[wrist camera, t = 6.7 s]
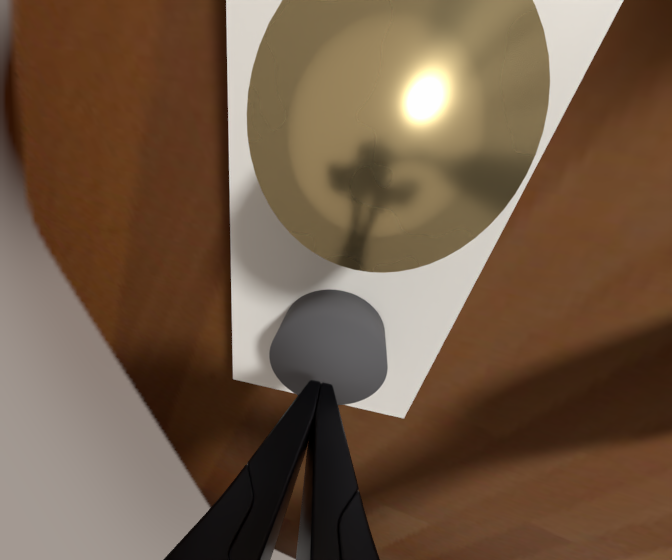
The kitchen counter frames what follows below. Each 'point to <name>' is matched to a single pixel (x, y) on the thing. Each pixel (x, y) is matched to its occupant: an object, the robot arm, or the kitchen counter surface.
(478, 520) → the kitchen counter surface
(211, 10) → the kitchen counter surface
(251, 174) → the control plate
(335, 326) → the knob
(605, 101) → the kitchen counter surface
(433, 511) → the kitchen counter surface
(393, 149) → the knob middle
